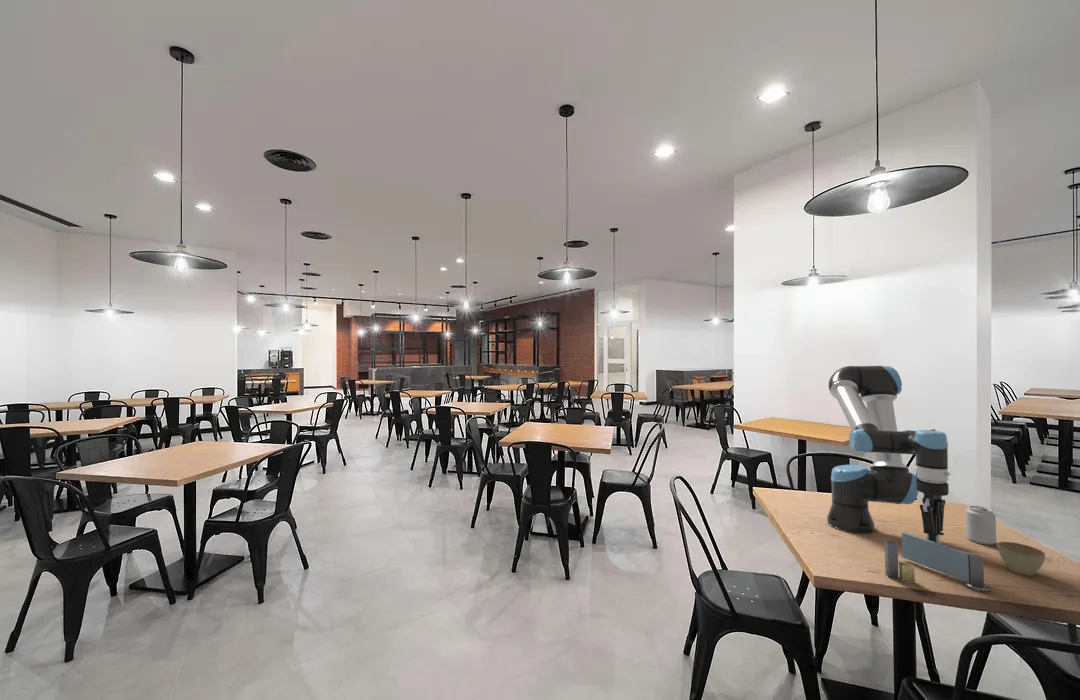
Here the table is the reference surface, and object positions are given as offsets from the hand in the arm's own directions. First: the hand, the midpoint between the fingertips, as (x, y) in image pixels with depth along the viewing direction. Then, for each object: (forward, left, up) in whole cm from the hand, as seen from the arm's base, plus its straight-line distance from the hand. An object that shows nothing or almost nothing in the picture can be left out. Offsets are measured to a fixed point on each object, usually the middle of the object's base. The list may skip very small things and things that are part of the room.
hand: (934, 555), depth 136 cm
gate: (+1, -4, -3) cm, 5 cm away
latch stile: (-8, -16, -4) cm, 18 cm away
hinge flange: (+9, -8, -4) cm, 13 cm away
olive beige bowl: (+20, +14, -4) cm, 25 cm away
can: (+13, +37, -4) cm, 39 cm away
